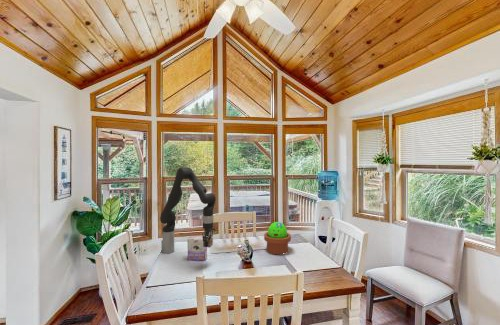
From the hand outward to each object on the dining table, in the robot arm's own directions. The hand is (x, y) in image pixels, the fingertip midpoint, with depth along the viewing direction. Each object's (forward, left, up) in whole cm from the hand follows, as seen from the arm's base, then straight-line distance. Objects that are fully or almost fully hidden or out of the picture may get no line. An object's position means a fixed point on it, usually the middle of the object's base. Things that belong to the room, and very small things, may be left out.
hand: (207, 245), depth 175 cm
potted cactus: (+44, +42, -16) cm, 63 cm away
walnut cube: (0, 0, -1) cm, 1 cm away
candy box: (-13, +10, -16) cm, 23 cm away
